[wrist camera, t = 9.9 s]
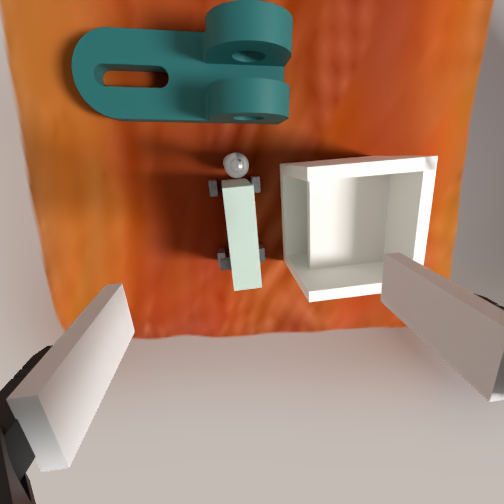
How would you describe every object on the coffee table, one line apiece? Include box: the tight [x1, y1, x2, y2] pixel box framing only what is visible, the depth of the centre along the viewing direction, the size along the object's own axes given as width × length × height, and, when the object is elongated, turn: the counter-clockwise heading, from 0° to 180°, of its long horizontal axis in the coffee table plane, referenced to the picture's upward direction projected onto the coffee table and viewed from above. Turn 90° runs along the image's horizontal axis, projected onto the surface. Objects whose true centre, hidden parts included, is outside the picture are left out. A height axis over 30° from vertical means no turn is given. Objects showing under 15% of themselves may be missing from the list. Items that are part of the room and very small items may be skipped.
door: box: [220, 178, 262, 291], centre depth 27 cm, size 9×4×8 cm, turn 5°
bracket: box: [72, 0, 293, 124], centre depth 23 cm, size 18×7×8 cm, turn 90°
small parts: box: [208, 153, 265, 266], centre depth 26 cm, size 11×5×10 cm, turn 5°
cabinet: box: [280, 156, 438, 302], centre depth 27 cm, size 11×10×10 cm
